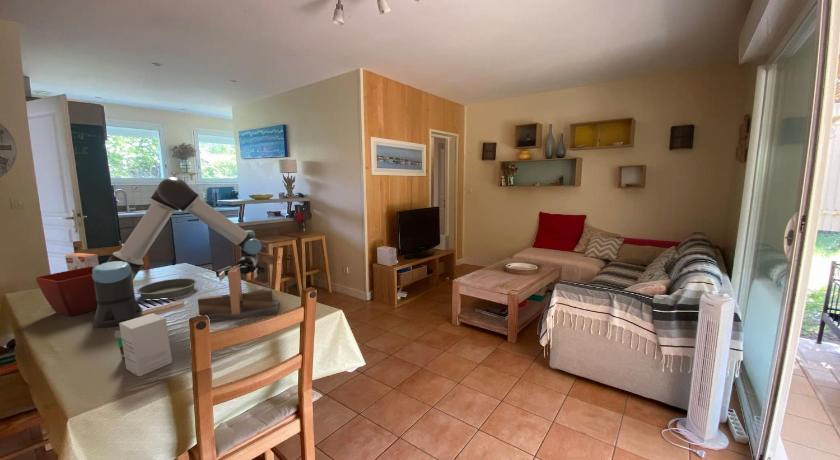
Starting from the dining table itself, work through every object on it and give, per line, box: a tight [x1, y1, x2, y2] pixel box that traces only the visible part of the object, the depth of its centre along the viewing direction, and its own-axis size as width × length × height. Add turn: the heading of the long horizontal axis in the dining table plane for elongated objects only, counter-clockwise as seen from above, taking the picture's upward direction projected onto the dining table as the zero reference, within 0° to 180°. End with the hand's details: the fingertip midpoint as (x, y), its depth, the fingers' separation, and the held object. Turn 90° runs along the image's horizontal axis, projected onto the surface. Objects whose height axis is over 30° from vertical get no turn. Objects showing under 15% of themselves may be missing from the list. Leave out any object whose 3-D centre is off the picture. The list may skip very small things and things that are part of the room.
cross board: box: [193, 289, 280, 323], centre depth 147 cm, size 14×32×8 cm, turn 108°
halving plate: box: [227, 266, 243, 314], centre depth 146 cm, size 9×3×18 cm, turn 18°
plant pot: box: [35, 267, 97, 317], centre depth 152 cm, size 19×19×17 cm
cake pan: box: [136, 277, 198, 301], centre depth 174 cm, size 25×25×4 cm
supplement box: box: [118, 312, 173, 377], centre depth 105 cm, size 9×9×15 cm
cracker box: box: [64, 252, 100, 271], centre depth 172 cm, size 14×6×21 cm, turn 73°
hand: (237, 276), depth 150 cm, fingers open, 13 cm apart
